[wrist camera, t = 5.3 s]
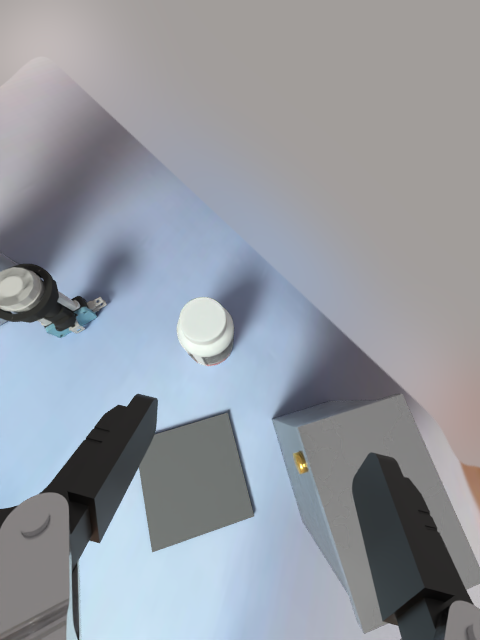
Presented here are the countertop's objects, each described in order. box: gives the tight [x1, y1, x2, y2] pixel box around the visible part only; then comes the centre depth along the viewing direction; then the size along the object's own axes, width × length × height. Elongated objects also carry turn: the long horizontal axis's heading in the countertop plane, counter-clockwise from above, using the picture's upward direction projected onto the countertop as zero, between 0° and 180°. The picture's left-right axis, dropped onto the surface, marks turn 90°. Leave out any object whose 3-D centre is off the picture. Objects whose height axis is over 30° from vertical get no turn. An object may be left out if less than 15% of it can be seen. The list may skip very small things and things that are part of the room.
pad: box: [139, 413, 254, 552], centre depth 27 cm, size 10×10×1 cm
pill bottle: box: [177, 297, 234, 366], centre depth 27 cm, size 5×5×10 cm
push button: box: [0, 264, 107, 338], centre depth 27 cm, size 7×5×10 cm
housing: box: [272, 394, 480, 634], centre depth 22 cm, size 8×11×13 cm
